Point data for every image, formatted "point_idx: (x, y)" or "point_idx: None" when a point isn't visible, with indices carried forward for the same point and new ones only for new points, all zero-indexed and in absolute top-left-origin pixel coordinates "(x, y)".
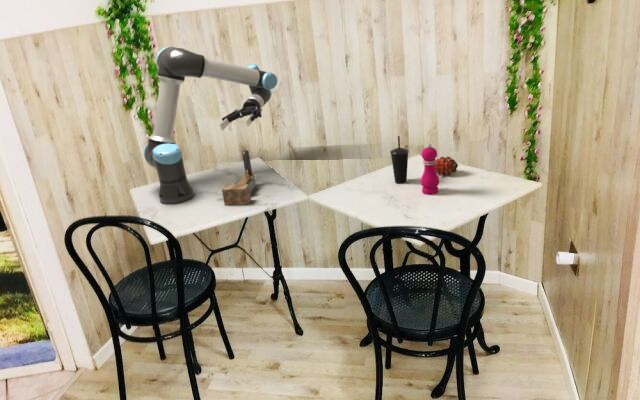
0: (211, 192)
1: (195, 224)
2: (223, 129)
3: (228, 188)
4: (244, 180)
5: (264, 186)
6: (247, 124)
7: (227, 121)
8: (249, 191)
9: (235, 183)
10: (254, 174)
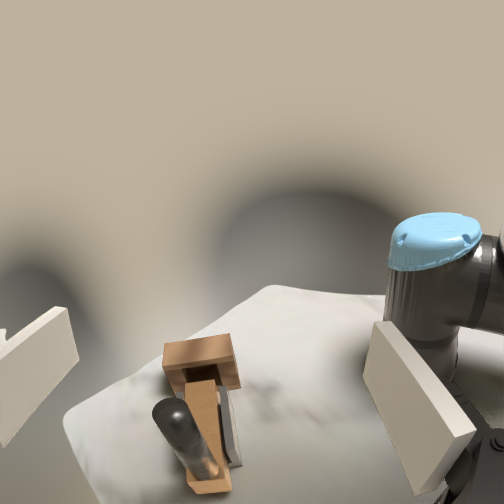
0: (337, 419)
1: (253, 302)
2: (365, 380)
3: (212, 340)
4: (199, 418)
5: (163, 482)
6: (71, 346)
7: (424, 447)
8: (168, 380)
9: (228, 403)
10: (188, 483)
